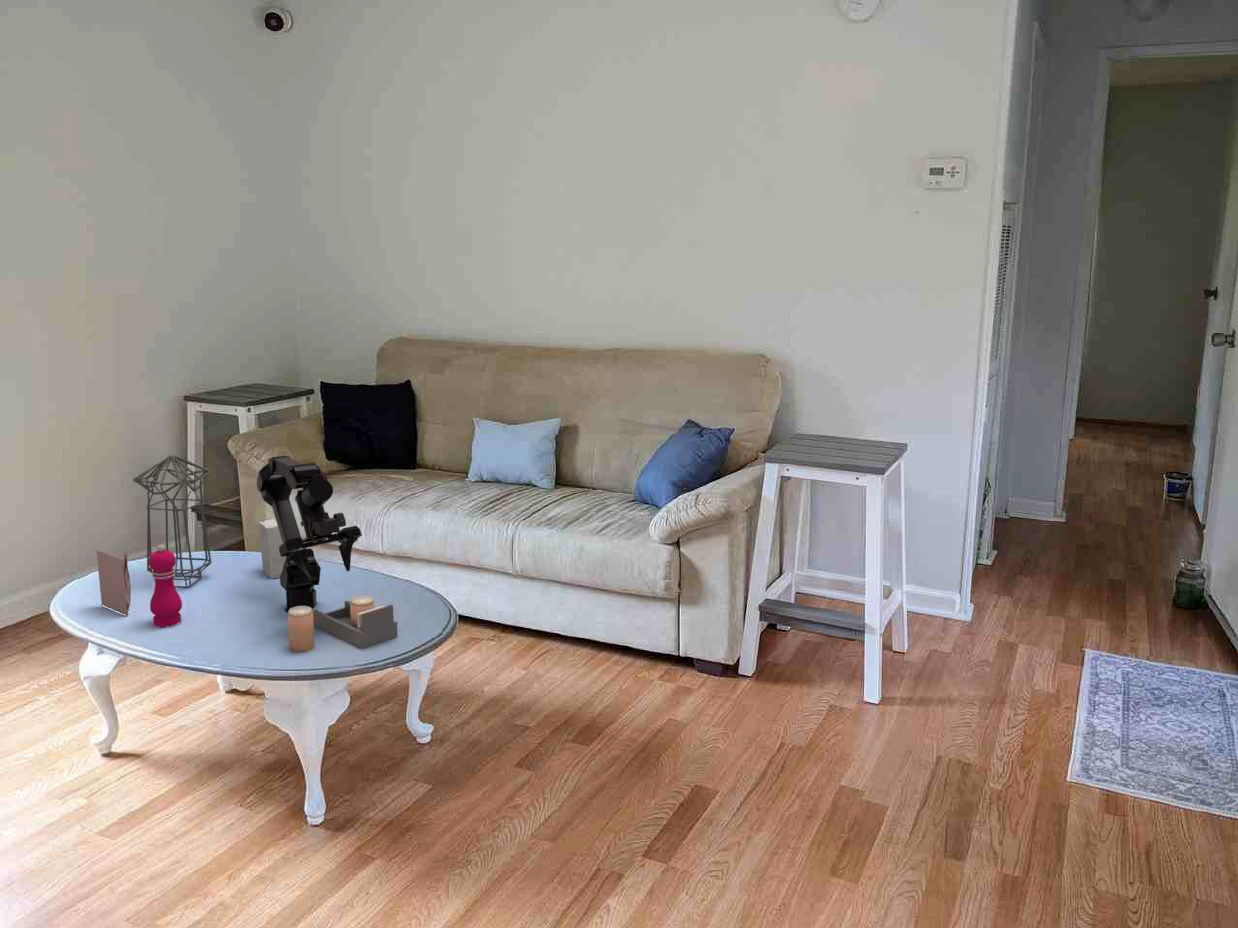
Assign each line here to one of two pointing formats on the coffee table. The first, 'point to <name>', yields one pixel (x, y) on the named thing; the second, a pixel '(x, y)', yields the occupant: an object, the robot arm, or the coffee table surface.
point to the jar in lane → (360, 607)
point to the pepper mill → (164, 589)
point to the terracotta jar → (301, 629)
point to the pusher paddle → (360, 618)
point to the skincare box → (271, 548)
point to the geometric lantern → (160, 467)
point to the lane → (374, 629)
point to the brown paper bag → (114, 582)
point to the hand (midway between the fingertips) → (330, 575)
